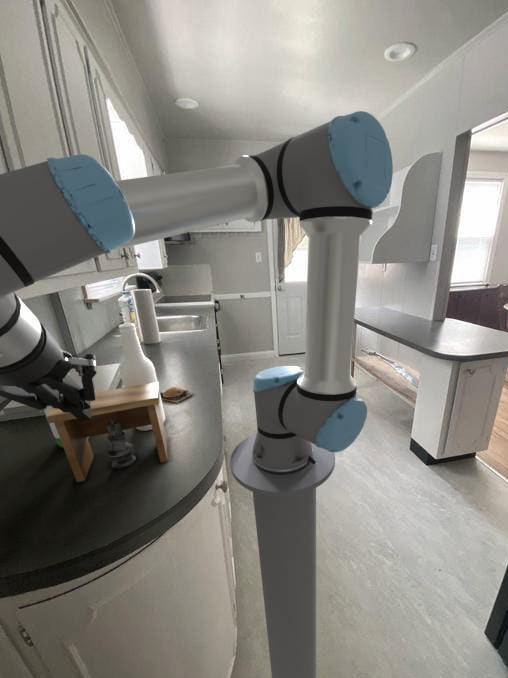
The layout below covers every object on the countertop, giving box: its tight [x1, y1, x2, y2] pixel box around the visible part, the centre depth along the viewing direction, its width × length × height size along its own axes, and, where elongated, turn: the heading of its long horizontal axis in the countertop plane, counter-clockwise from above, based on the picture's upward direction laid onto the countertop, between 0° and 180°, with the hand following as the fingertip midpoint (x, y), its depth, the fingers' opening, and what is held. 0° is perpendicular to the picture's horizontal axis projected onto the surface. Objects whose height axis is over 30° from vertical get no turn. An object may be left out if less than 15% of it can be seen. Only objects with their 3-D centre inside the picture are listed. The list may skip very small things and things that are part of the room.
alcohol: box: [118, 322, 166, 431], centre depth 85 cm, size 9×9×30 cm
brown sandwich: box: [160, 386, 194, 404], centre depth 108 cm, size 11×8×4 cm
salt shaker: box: [106, 419, 137, 469], centre depth 72 cm, size 6×6×12 cm
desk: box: [45, 381, 169, 483], centre depth 72 cm, size 10×21×17 cm, turn 111°
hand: (85, 413), depth 52 cm, fingers closed
